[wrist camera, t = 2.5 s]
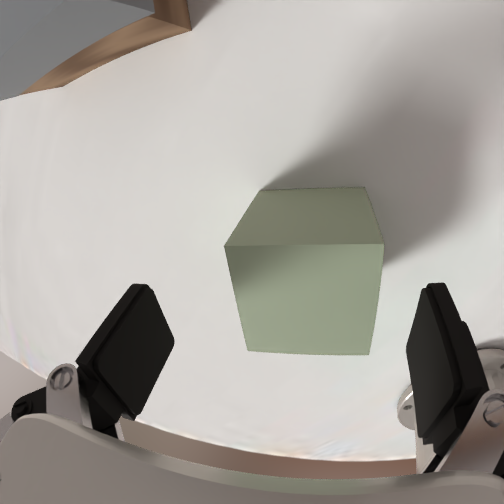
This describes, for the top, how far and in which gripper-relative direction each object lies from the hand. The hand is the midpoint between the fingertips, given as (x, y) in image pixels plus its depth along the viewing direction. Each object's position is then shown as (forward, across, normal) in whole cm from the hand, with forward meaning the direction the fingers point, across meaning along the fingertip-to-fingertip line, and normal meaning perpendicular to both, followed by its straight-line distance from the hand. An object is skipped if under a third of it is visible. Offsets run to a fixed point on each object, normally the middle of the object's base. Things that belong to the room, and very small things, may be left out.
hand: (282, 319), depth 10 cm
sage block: (+7, -1, +1) cm, 7 cm away
